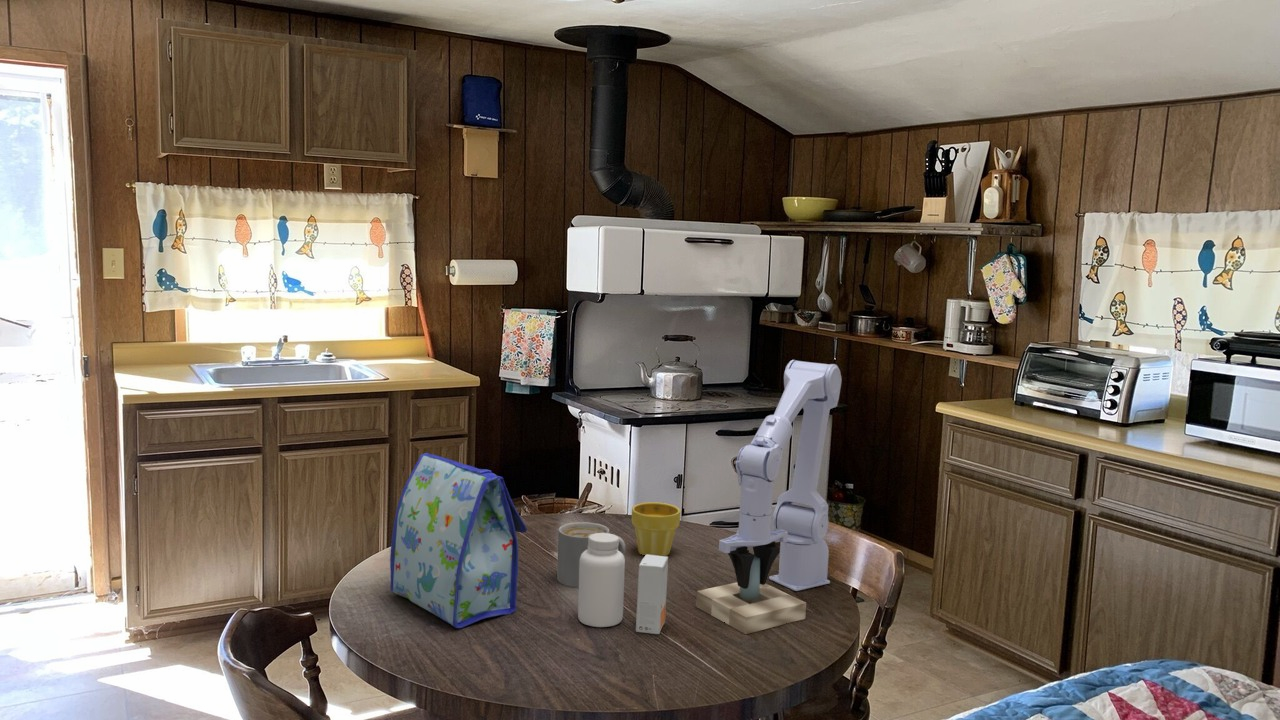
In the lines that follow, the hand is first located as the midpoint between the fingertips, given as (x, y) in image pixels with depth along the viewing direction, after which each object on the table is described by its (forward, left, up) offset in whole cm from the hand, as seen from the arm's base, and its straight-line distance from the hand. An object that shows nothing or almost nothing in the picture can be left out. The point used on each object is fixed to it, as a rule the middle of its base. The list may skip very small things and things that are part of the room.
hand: (751, 584), depth 173 cm
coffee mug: (+16, -29, -6) cm, 33 cm away
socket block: (0, 0, -5) cm, 5 cm away
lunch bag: (+44, -30, -6) cm, 54 cm away
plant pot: (-4, -36, -6) cm, 36 cm away
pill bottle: (+25, -11, -6) cm, 28 cm away
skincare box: (+19, -4, -6) cm, 21 cm away
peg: (0, 0, -2) cm, 2 cm away
